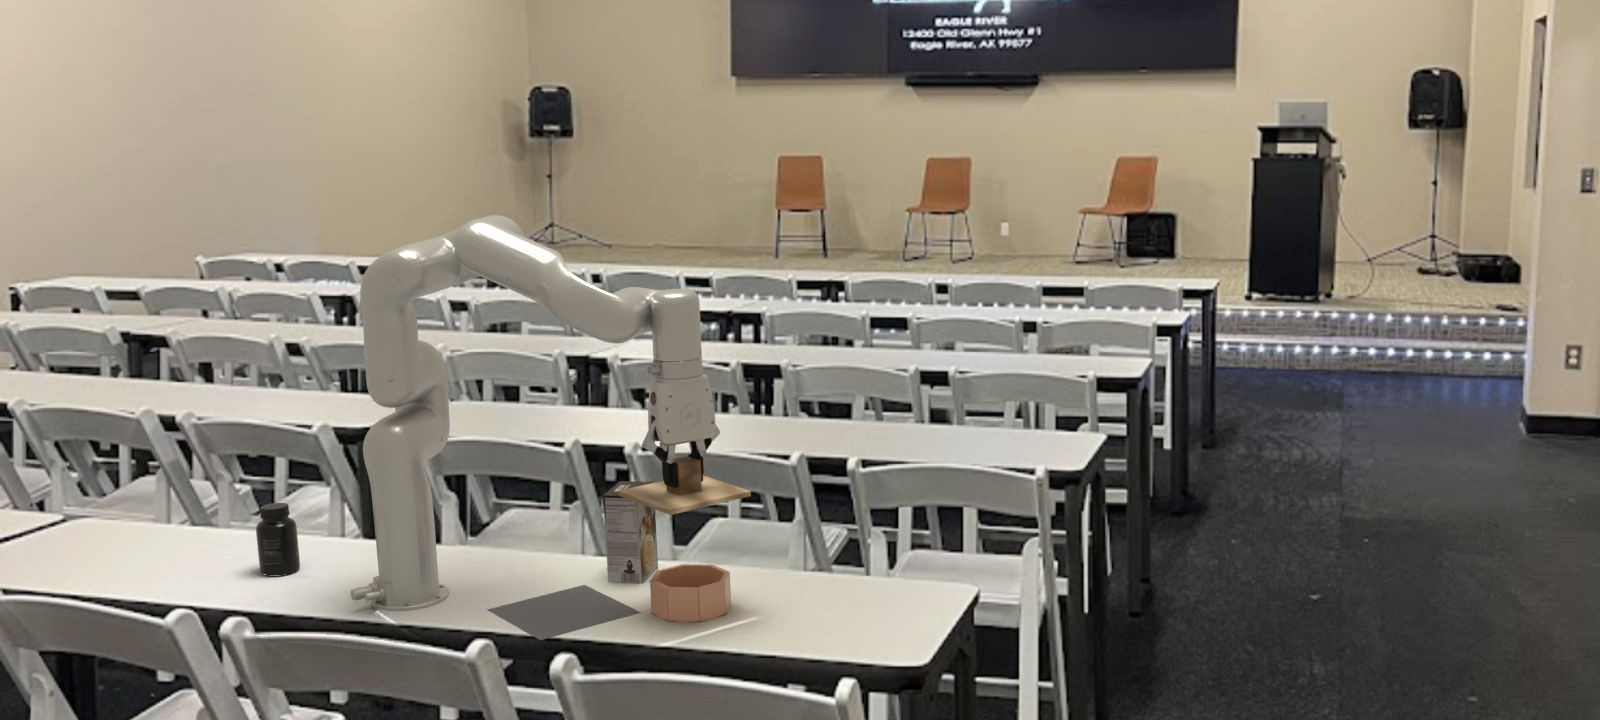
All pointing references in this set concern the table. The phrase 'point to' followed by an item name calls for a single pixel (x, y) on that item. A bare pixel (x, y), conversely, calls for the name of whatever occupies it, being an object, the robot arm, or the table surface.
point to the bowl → (690, 593)
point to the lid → (685, 490)
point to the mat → (563, 612)
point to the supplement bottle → (277, 540)
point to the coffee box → (629, 536)
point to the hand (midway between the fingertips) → (683, 481)
